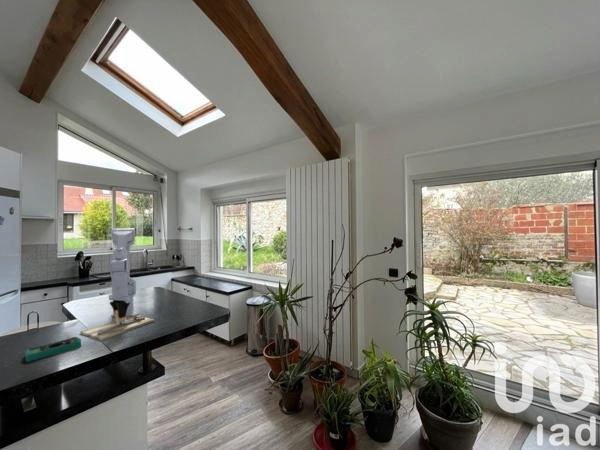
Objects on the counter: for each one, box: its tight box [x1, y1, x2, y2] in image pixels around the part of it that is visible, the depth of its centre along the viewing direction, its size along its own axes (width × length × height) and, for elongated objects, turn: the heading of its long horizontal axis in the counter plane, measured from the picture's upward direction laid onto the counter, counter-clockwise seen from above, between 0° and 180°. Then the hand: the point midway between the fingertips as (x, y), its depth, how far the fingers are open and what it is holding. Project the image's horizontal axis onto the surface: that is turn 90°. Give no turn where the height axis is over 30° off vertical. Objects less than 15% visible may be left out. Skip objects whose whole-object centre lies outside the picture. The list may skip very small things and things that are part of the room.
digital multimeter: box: [24, 336, 82, 362], centre depth 96 cm, size 7×15×3 cm, turn 138°
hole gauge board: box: [79, 312, 155, 342], centre depth 118 cm, size 16×22×4 cm
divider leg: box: [114, 310, 128, 325], centre depth 118 cm, size 6×3×7 cm, turn 62°
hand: (120, 316), depth 118 cm, fingers closed on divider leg, 2 cm apart
